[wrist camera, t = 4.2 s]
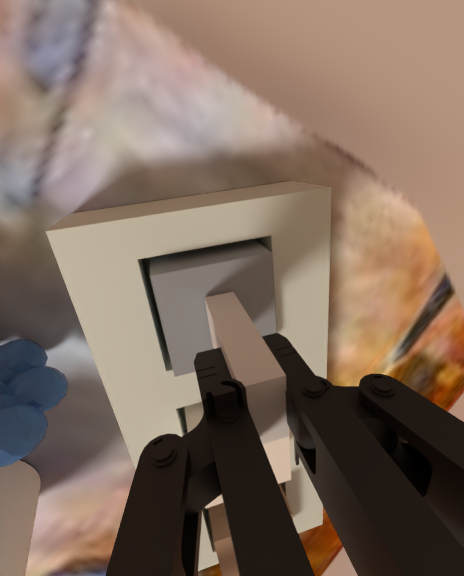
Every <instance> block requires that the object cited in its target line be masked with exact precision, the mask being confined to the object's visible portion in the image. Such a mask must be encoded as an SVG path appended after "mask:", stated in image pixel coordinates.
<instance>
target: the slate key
mask: <svg viewBox="0 0 464 576" xmlns="http://www.w3.org/2000/svg"><path fill="white" fill-rule="evenodd" d="M150 278H151V282H152V286H153V291H154V295H155V299H156V303H157V307H158V311H159V315H160V319H161V323H162V327H163V331H164V335H165V339H166V344H167V348H168V352H169V356H170V360H171V364H172V368H173V372H174V376H175V377H177V376H181V375H184V374H188V373H192V372H196V371H195V366H194V360H195V357H196V354H197V353H199V352H203V351H207V350H211V349H214V348H213V345H212V340H211V334H210V328H209V322H208V316H207V311H206V305H205V299H204V298H205V297H209V296H214V295H219V294H224V293H228V292H234V293H235V295H236V296H237V298H238V300H239V301H240V303H241V304H242V306H243V308H244V309H245V311H246V312H247V314H248V316H249V317H250V319H251V320H252V322H253V324H254V325H255V327H256V328H257V330H258V332H259V333H260V335H261V336H266V335H270V334H274V333H276V315H275V298H274V281H273V264H272V252H270V251H269V250H268V249H266V248H265V247H264V246H262V245H261V244H260V243H259V242H257V241H256V240H255V239H248V240H243V241H237V242H232V243H226V244H221V245H215V246H210V247H204V248H199V249H193V250H187V251H182V252H176V253H171V254H165V255H160V256H154V257H150Z"/></svg>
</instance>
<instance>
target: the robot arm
mask: <svg viewBox="0 0 464 576" xmlns="http://www.w3.org/2000/svg"><path fill="white" fill-rule="evenodd" d="M204 299H205V305H206V311H207V316H208V322H209V328H210V334H211V340H212V345H213V348H214V349H211V350H207V351H203V352H199V353H197V354H196V357H195V360H194V366H195V371H196V376H197V381H198V386H199V391H200V395H201V400H202V405H203V410H204V413H203V417H202V419H201V421H200V422H199V424H198V425H197V426H196V427H195V428H194V429H193V430H191V431H190V432H188V433H187V434H185V435H183V436H182V437H181V436H179V435H177V434H169V433H168V434H164V435H160V436H158V437H156V438H154V439H153V440H151V441H150V442H149V443H148V444H147V445H146V446H145V447H144V449H143V451H142V453H141V455H140V457H139V461H138V464H137V468H136V471H135V475H134V478H133V482H132V485H131V489H130V492H129V496H128V499H127V503H126V506H125V510H124V513H123V517H122V520H121V523H120V527H119V530H118V534H117V537H116V541H115V544H114V548H113V551H112V555H111V558H110V562H109V565H108V569H107V572H106V576H198V564H199V550H200V536H201V522H202V509H203V508H204V507H205V506H207V505H208V504H209V503H211V502H212V501H213V500H215V499H216V498H217V497H218V496H220V495H221V494H222V498H223V503H224V507H225V512H226V517H227V521H228V526H229V530H230V535H231V540H232V544H233V549H234V554H235V558H236V563H237V567H238V572H239V576H315V575H314V573H313V570H312V568H311V565H310V562H309V560H308V557H307V555H306V552H305V550H304V547H303V545H302V542H301V540H300V537H299V535H298V532H297V530H296V527H295V525H294V522H293V520H292V517H291V515H290V512H289V510H288V507H287V505H286V502H285V500H284V497H283V495H282V492H281V490H280V487H279V485H278V482H277V479H276V477H275V474H274V472H273V469H272V467H271V464H270V462H269V459H268V457H267V454H266V452H265V449H264V447H263V444H265V443H268V442H272V441H275V440H278V439H281V438H284V437H288V436H289V433H288V426H289V428H290V430H291V432H292V434H293V436H294V455H295V462H296V466H297V465H299V458H300V460H301V462H302V464H303V466H304V468H305V470H306V472H307V474H308V476H309V478H310V480H311V482H312V484H313V486H314V488H315V490H316V492H317V494H318V496H319V498H320V500H321V502H322V504H323V506H324V508H325V510H326V512H327V514H328V516H329V518H330V520H331V522H332V524H333V526H334V528H335V530H336V532H337V534H338V536H339V538H340V540H341V542H342V544H343V546H344V548H345V550H346V552H347V555H348V556H349V558H350V561H351V563H352V565H353V567H354V569H355V571H356V573H357V574H358V576H464V422H463V421H461V420H459V419H458V418H456V417H455V416H453V415H452V414H450V413H448V412H447V411H445V410H444V409H442V408H440V407H439V406H437V405H436V404H434V403H433V402H431V401H429V400H428V399H426V398H425V397H423V396H421V395H420V394H418V393H417V392H415V391H414V390H412V389H410V388H409V387H407V386H406V385H404V384H403V383H401V382H399V381H398V380H396V379H394V378H392V377H390V376H387V375H383V374H369V375H366V376H364V377H363V378H362V379H361V380H360V384H359V386H349V387H342V386H334V385H332V384H331V383H330V382H329V381H328V380H327V379H325V378H322V377H320V376H316V375H315V374H314V373H313V372H312V370H311V369H310V368H309V366H308V365H307V364H306V362H305V361H304V360H303V358H302V357H301V356H300V355H299V353H297V351H296V349H295V348H294V347H293V345H292V344H291V343H290V341H289V340H288V339H287V338H286V337H284V336H283V335H281V334H279V333H274V334H270V335H266V336H261V335H260V333H259V332H258V330H257V328H256V327H255V325H254V324H253V322H252V320H251V319H250V317H249V316H248V314H247V312H246V311H245V309H244V308H243V306H242V304H241V303H240V301H239V300H238V298H237V296H236V295H235V293H234V292H228V293H224V294H219V295H214V296H209V297H205V298H204Z"/></svg>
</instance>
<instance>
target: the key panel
mask: <svg viewBox="0 0 464 576" xmlns="http://www.w3.org/2000/svg"><path fill="white" fill-rule="evenodd" d="M331 199H332V187H329V186H322V185H316V184H309V183H303V182H296V181H287V182H280V183H274V184H267V185H260V186H253V187H247V188H240V189H233V190H226V191H220V192H213V193H206V194H199V195H193V196H186V197H179V198H172V199H165V200H159V201H152V202H145V203H138V204H132V205H125V206H118V207H111V208H105V209H98V210H91V211H84V212H78V213H72V214H70V215H69V216H67V217H66V218H64V219H63V220H61V221H60V222H59V223H57V224H56V225H54V226H53V227H51V228H50V229H48V230H47V231H46V234H47V237H48V239H49V242H50V245H51V247H52V250H53V253H54V255H55V258H56V260H57V263H58V266H59V268H60V271H61V274H62V276H63V279H64V282H65V284H66V287H67V290H68V292H69V295H70V297H71V300H72V303H73V305H74V308H75V311H76V313H77V316H78V319H79V321H80V324H81V327H82V329H83V332H84V334H85V337H86V340H87V342H88V345H89V348H90V350H91V353H92V356H93V358H94V361H95V364H96V366H97V369H98V371H99V374H100V377H101V379H102V382H103V385H104V387H105V390H106V393H107V395H108V398H109V401H110V403H111V406H112V408H113V411H114V414H115V416H116V419H117V422H118V424H119V427H120V430H121V432H122V435H123V438H124V440H125V443H126V445H127V448H128V451H129V453H130V456H131V459H132V461H133V464H134V467H135V469H136V468H137V464H138V461H139V457H140V455H141V453H142V451H143V449H144V447H145V446H146V445H147V444H148V443H149V442H150V441H151V440H153V439H154V438H156V437H158V436H160V435H164V434H168V433H169V434H177V435H179V436H181V437H182V436H183V435H185V434H187V433H188V430H187V422H186V415H185V408H184V407H185V406H188V405H192V404H196V403H199V402H202V400H201V395H200V391H199V386H198V381H197V376H196V372H192V373H188V374H184V375H181V376H177V377H175V376H174V372H173V368H172V364H171V360H170V356H169V352H168V348H167V344H166V339H165V335H164V331H163V327H162V323H161V319H160V315H159V311H158V307H157V303H156V299H155V295H154V291H153V286H152V282H151V278H150V257H154V256H160V255H165V254H171V253H176V252H182V251H187V250H193V249H199V248H204V247H210V246H215V245H221V244H226V243H232V242H237V241H243V240H248V239H255V240H256V241H257V242H259V243H260V244H261V245H262V246H264V247H265V248H266V249H268V250H269V251H270V252H272V264H273V281H274V298H275V315H276V333H279V334H281V335H283V336H284V337H286V338H287V339H288V340H289V341H290V343H291V344H292V345H293V347H294V348H295V349H296V351H297V353H299V355H300V356H301V357H302V358H303V360H304V361H305V362H306V364H307V365H308V366H309V368H310V369H311V370H312V372H313V373H314V374H315V375H316V376H320V377H322V378H325V379H327V345H328V309H329V272H330V236H331ZM289 442H290V465H291V480H289V481H286V482H283V483H280V484H281V486H282V489H283V491H284V494H285V496H286V499H287V501H288V503H289V506H290V508H291V511H292V513H293V522H294V525H295V527H296V530H297V532H298V533H301V532H304V531H306V530H309V529H312V528H314V527H317V526H319V525H322V524H323V504H322V502H321V500H320V498H319V496H318V494H317V492H316V490H315V488H314V486H313V484H312V482H311V480H310V478H309V476H308V474H307V472H306V470H305V468H304V466H303V464H302V462H301V460H300V458H299V465H297V466H296V462H295V455H294V436H293V434H292V432H291V430H290V428H289ZM218 563H219V561H218V557H217V553H216V549H215V545H214V540H213V534H212V528H211V523H210V517H209V511H208V508H206V509H205V507H204V508H203V509H202V522H201V536H200V550H199V564H198V571H200V570H203V569H205V568H208V567H211V566H213V565H216V564H218Z"/></svg>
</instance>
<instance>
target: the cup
mask: <svg viewBox="0 0 464 576" xmlns="http://www.w3.org/2000/svg"><path fill="white" fill-rule="evenodd" d="M40 486H41V480H40V477H39V475H38V473H37V471H36V470H35V469H34V468H33V467H31V466H30V465H29V464H27V463H25V462H23V461H20V460H18V461H16V462H15V463H13V464H11V465H7V466H2V467H0V576H25V573H26V567H27V561H28V555H29V550H30V544H31V538H32V532H33V526H34V521H35V515H36V509H37V503H38V498H39V492H40Z"/></svg>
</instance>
